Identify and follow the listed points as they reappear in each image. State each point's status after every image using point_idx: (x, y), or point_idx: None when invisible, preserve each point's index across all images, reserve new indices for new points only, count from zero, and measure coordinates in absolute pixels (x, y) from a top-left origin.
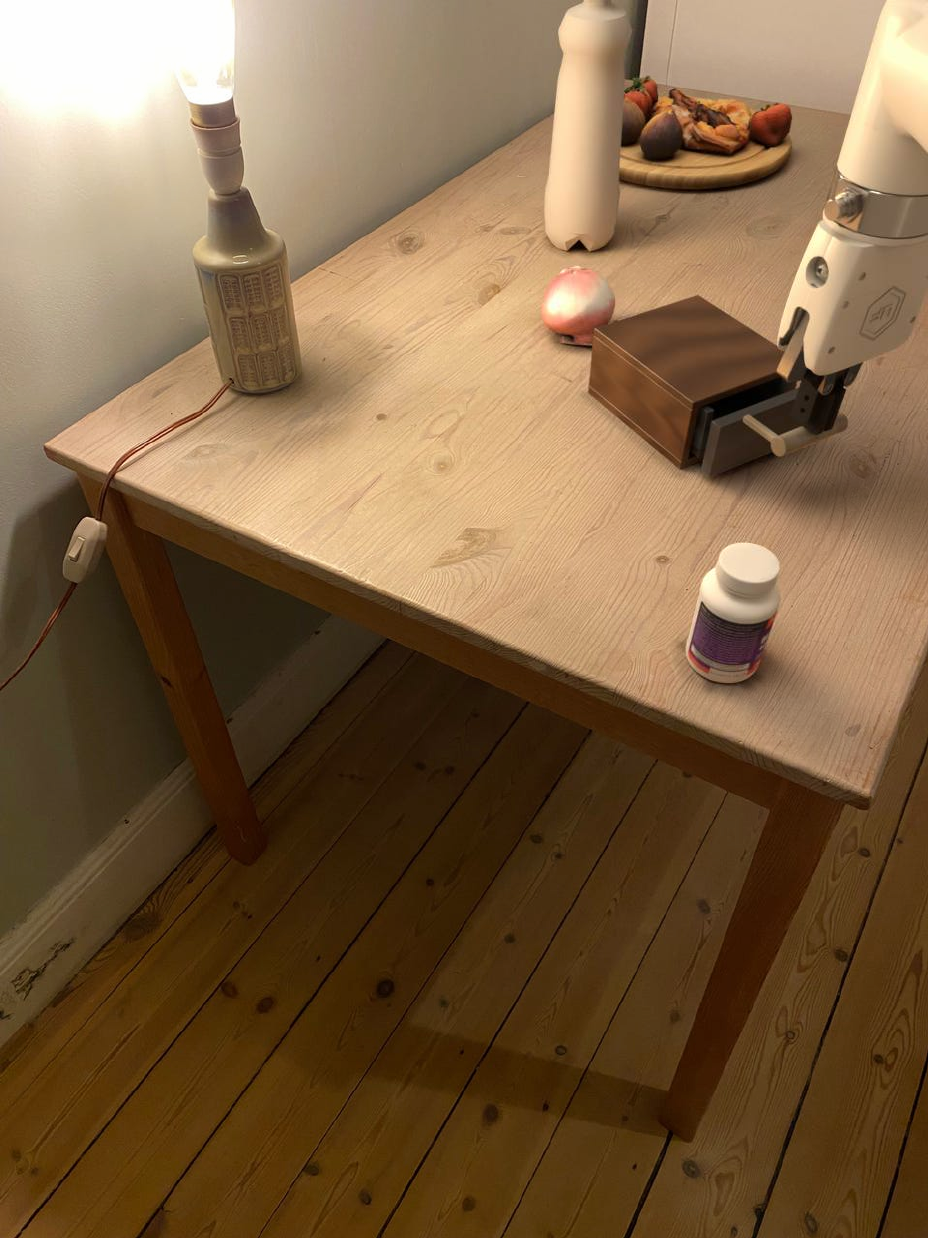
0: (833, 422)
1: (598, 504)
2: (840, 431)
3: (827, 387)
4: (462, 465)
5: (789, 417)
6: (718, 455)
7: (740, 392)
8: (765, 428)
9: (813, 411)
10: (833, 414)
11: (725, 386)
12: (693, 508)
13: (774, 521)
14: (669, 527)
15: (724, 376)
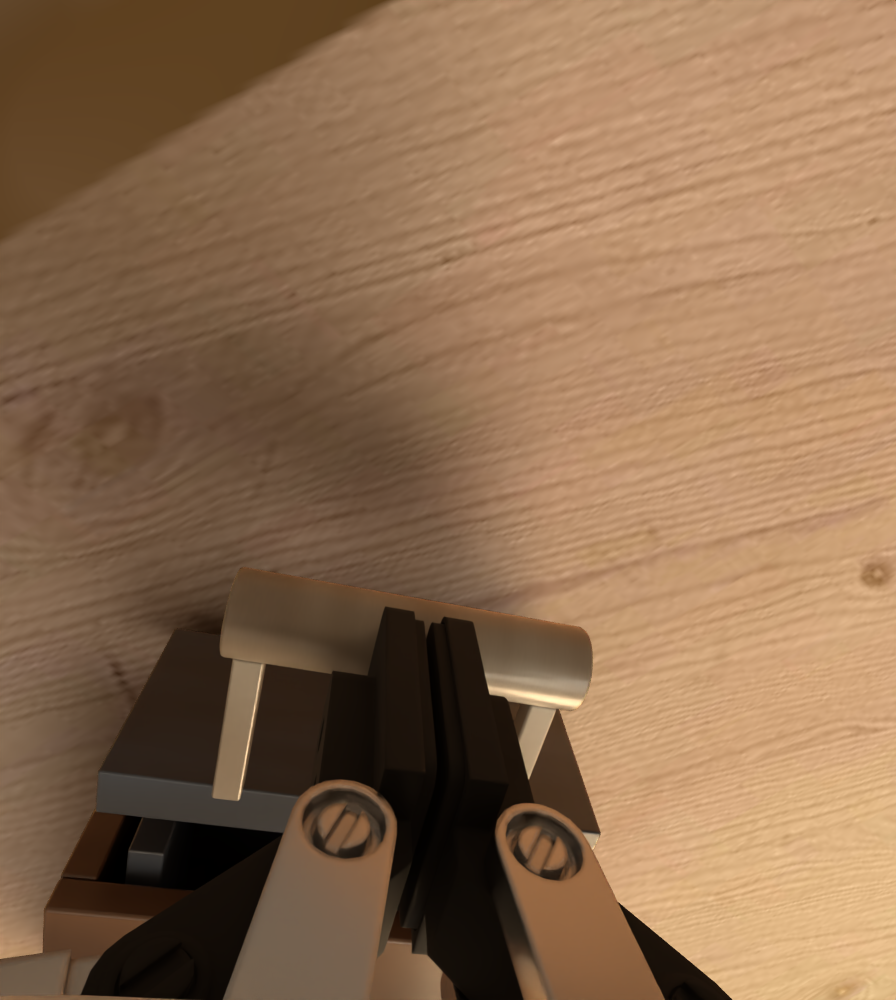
0: (393, 627)
1: (774, 773)
2: (277, 573)
3: (550, 854)
4: (818, 977)
5: (263, 727)
6: (553, 737)
7: (189, 857)
8: (522, 755)
9: (502, 735)
10: (417, 664)
11: (430, 959)
12: (650, 639)
13: (556, 471)
14: (754, 632)
15: (378, 989)
